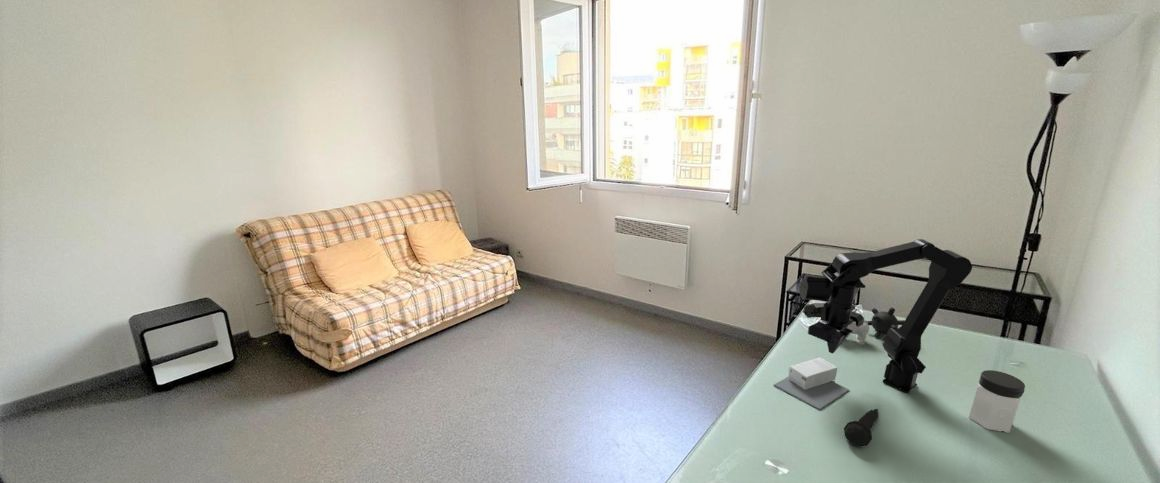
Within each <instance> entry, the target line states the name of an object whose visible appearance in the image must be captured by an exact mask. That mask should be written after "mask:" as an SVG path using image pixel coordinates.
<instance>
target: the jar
mask: <svg viewBox="0 0 1160 483" xmlns="http://www.w3.org/2000/svg"><path fill="white" fill-rule="evenodd" d="M1025 389H1026V385H1025V383H1024V381H1022V380H1021V379H1019V378H1018V377H1016V376H1014V375H1011V374H1009V373H1006V372H1002V371H999V370H991V369H990V370H983V371H982V372H981V373H980V377H979V380H978V384H977V387H976V390H975V394H974V397H973V402H972V404H971V407H970V411H969V414H968V418H969V419H970V420H972V421H973V422H975V423H977V424H978V425H980V426H981V427H983V428H985V429H986V430H990V431H991V430H992V431H996V430H997V432H1001V431H1004V432H1003V433H1007V432H1009V433H1010V432H1011V430H1012V426H1013V424H1014V420H1015V417H1016V416H1017V415H1016V413H1017V411H1018V408H1019V405H1020V402H1021V399H1022V397H1023V395H1024V393H1025ZM1010 429H1011V430H1010Z"/></svg>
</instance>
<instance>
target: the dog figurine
mask: <svg viewBox="0 0 1160 483" xmlns="http://www.w3.org/2000/svg"><path fill="white" fill-rule="evenodd" d="M867 321H868V320H866V319H864V322H863V325H861V326H860V327H857V326H856V322H852V324H850V325H848V329H850V330H852V333H851V334H852V335H853V334H855V335H856V336H855V339H856V340H860V341H859V345H864V344H865V341H866V338H867V335H868V333H869V332H870V325H868V322H867Z"/></svg>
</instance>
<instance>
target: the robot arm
mask: <svg viewBox="0 0 1160 483" xmlns="http://www.w3.org/2000/svg"><path fill="white" fill-rule="evenodd" d="M920 259H927V260H929V261H930V264H929V267H928V281H927V283H926V284H925V285H924V288H923V290H922V291H921V292H920V294H919V296H918V298H917V300H916V301H915V303H914V304H913V306H912V308H911V310H910V311H909V313H908V315H907V316H906V318H905V319H904V320H905V321H904V323H903V325H900V326H898V328H897V329H896V330H894V329H892V328H890V329H889V330H888V332H887V334H885V336H884V337H882V339H881V340H882V341H883V342H882V347H883V350H884V351H885V352H886V353H887V354H886V355H887V357H889V358H890V359H891V360H889V363H888V364H886V366H885V371H884V374H883V378H884V379H882V383H884V384H885V385H888V386H891V387H893V388H895V389H897V390H900V391H902V392H904V393H907V394H908V393H910V392H911V391H913V389H915V388H916V387H918V383H917V378H918V374H923V373H924V370H925V369H926V365H924V363H923V362H922V361H921V360H920V358H919V354H920V353H921V350H922V336H923V334H924V332H925V330H926V329H927V327H928V326H929V324H930V322H931V321H932V319H933V318H934V317H935V314H936V313H937V311H938V310H939V308H940V306H941V305H942V303H943V301H944V300H945V298H946V297H947V296H948V293H949V291H951V290H952V289H953V288H954V287H957V286H958V285H960V284H962V283H963V282H964V280H965V279H967V278H968V277H969V275H970V274H971V272H972V270H973V265H972V262H971V260H969V259H968V258H966V257H965V256H962V255H960V254H959V253H956V252H954V251H952V250H949V249H944V250H943V249H941V248H939V247H937V246H935V244H933V243H932V242H929V241H927V240H925V239H922V238H921V239H920V238H919V239H915V240H914V241H910V242H906V243H902V244H899V245H894V246H890V247H885V248H882V249H877V250H873V251H868V252H859V251H858V252H857V251H856V252H855V251H851V252H842V253H839V254H837V255H835V256H834V258H833V259H832V262H831V263H830V264H829V265H828V266H827V267H825V268H824V270H822V271H821V275H817V274H815V275H814V274H811V273H806V274H804V278H802V279H801V282H800V283H799V296H800V298H801V300H804V301H805V300H808V301H809V300H810V301H826V302H813V303H808V304H805V305H804V307H803V311H802V313H803V314H804V316H805V317H806V318H807V319H809V318H810V319H811V318H820V319H819V320H820V321H818V322H815V323H813V324H812V325H809V326H808V329H807V334H808V335H810V336H812V337H814V338H817V339H820V340H822V341H824V342H826V345H827V348H828V352H829V353H830V354H834V353H835V352H836V351H837V350H838V349H839V347H840V346H841V345H842V344H843V343H844V342H845V340H847V338H848V337H849V336H850V335H851V334H852V330H850V329H848V325H850V324H852V322H856V326H857V327H860V326H861V325H863V322H864V320H865V318H864V316H863V315H862V314H861V313H858V312H855V310H856V307H857V306H856V305H854V299H855V297H856V289H858V288H859V289H865V288H866V285H865V284H864V283H863V282H862V278H865V277H867V276H869V275H870V274H871V273H872V272H874V271H876V270H879V269H884V268H887V267H892V266H895V265H897V266H898V265H900V264H905V263H909V262H913V261H916V260H920ZM836 273H837V275H836ZM823 322H826V323H823Z"/></svg>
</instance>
